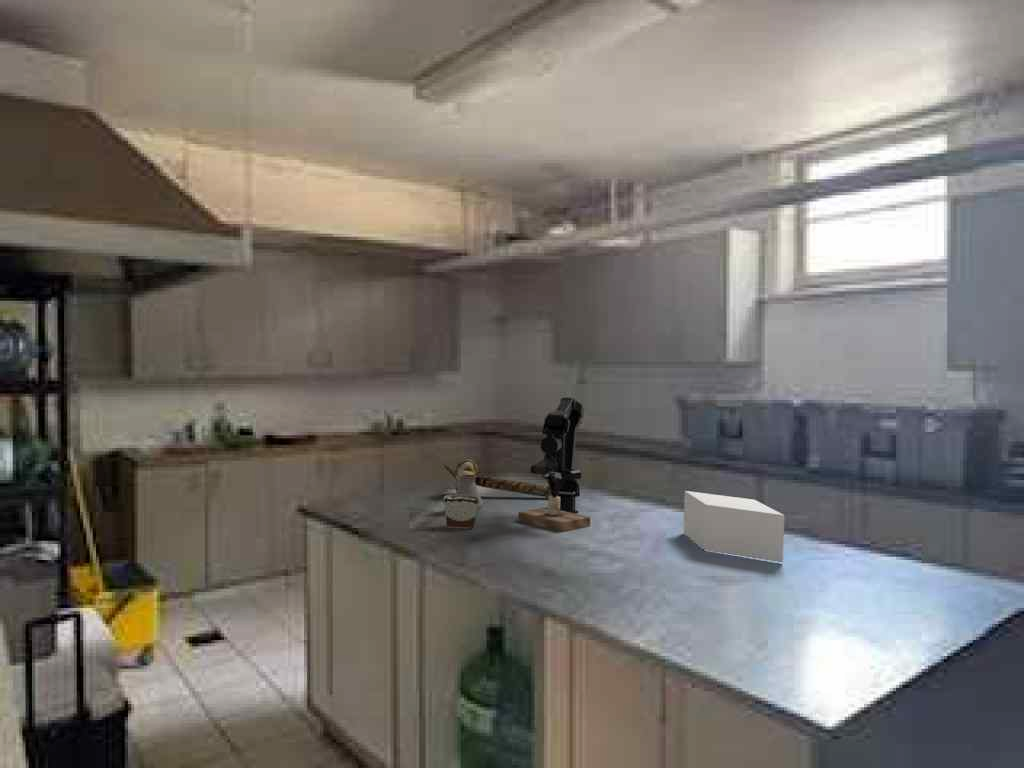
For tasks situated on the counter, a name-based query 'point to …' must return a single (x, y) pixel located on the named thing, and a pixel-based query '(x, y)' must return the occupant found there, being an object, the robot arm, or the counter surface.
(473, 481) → the coffee pot
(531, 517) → the walnut board
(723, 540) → the box
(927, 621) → the counter surface
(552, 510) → the birch peg
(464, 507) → the food container
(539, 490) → the decorative mallet
